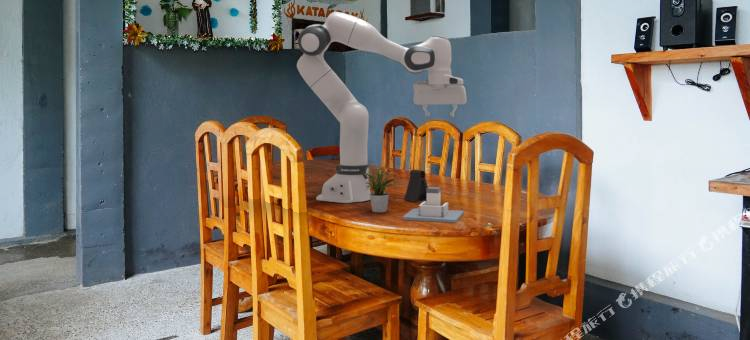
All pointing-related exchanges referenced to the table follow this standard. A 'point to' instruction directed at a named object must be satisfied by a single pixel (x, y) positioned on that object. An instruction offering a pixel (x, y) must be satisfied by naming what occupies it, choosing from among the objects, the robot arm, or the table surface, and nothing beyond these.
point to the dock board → (433, 214)
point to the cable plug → (434, 196)
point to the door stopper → (416, 187)
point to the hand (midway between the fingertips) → (439, 116)
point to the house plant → (379, 191)
